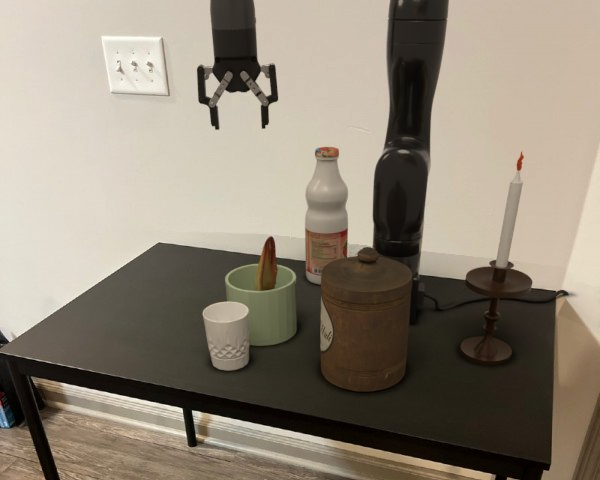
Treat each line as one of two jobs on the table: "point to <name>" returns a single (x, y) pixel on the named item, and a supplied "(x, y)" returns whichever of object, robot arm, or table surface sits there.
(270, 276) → the crab claw
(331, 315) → the wooden container
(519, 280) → the candlestick
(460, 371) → the table surface
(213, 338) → the white cup
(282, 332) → the crock
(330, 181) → the fruit juice
